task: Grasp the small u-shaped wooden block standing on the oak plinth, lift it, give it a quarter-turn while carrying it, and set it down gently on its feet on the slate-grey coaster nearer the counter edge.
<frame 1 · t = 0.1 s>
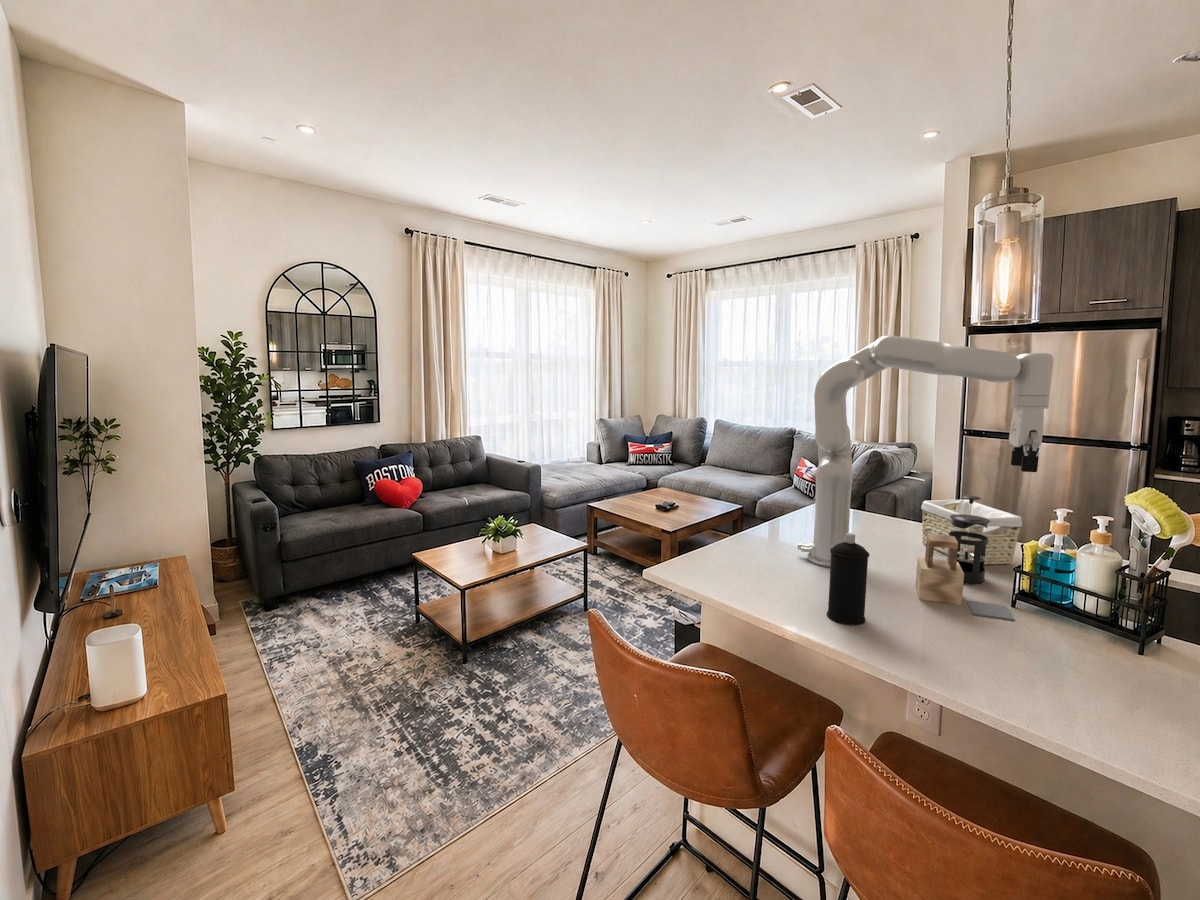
hand: (1023, 468, 143), 31 cm above the kitchen island, fingers open, 9 cm apart
storage basket: (964, 554, 172), on the kitchen island
u-shaped wooden block: (939, 565, 139), point 8 cm above the kitchen island, touching plinth
plinth: (937, 595, 140), on the kitchen island
coaster: (989, 610, 131), on the kitchen island
french press: (963, 578, 152), on the kitchen island
aerosol can: (845, 618, 128), on the kitchen island
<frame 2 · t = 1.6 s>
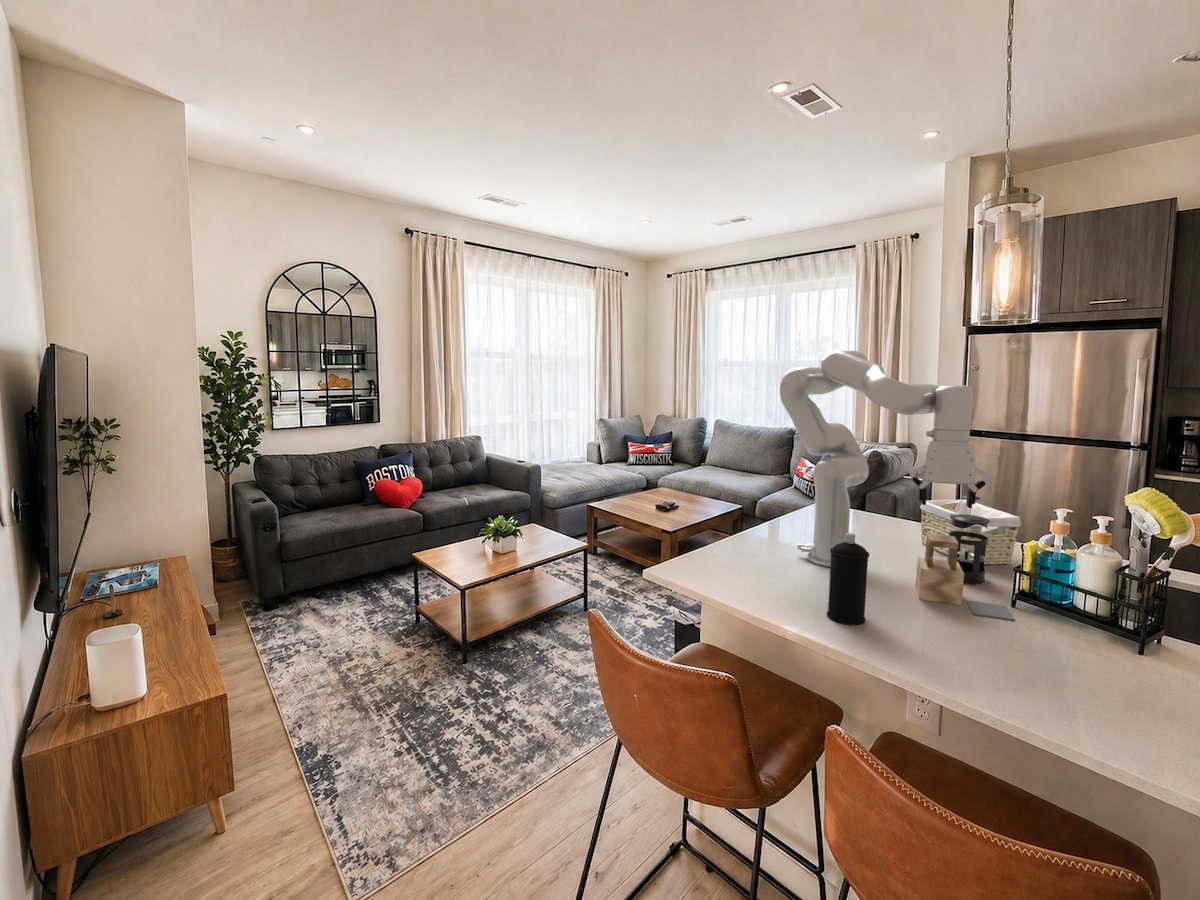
hand: (945, 505, 137), 23 cm above the kitchen island, fingers open, 9 cm apart
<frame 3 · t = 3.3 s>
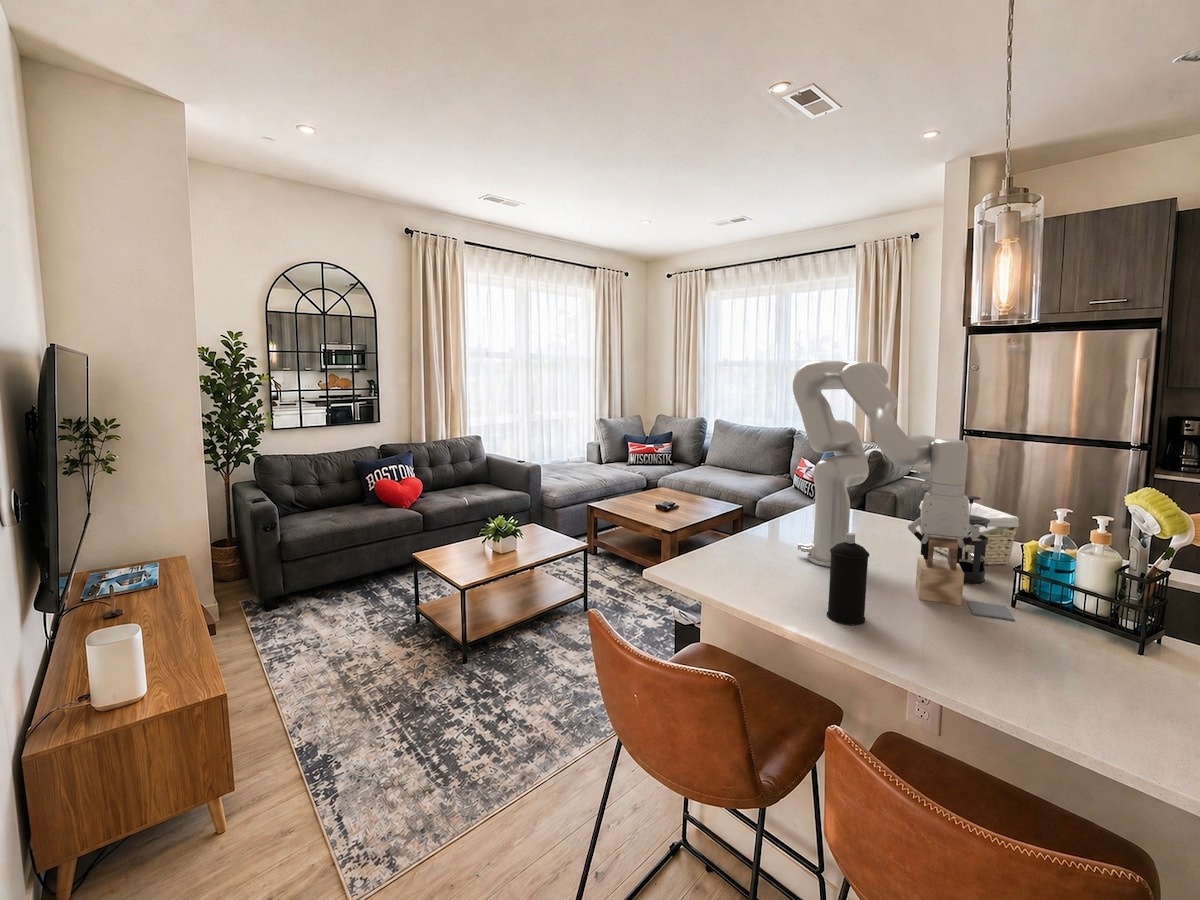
hand: (940, 559, 139), 10 cm above the kitchen island, fingers closed on u-shaped wooden block, 6 cm apart
u-shaped wooden block: (939, 565, 139), point 8 cm above the kitchen island, touching gripper, plinth
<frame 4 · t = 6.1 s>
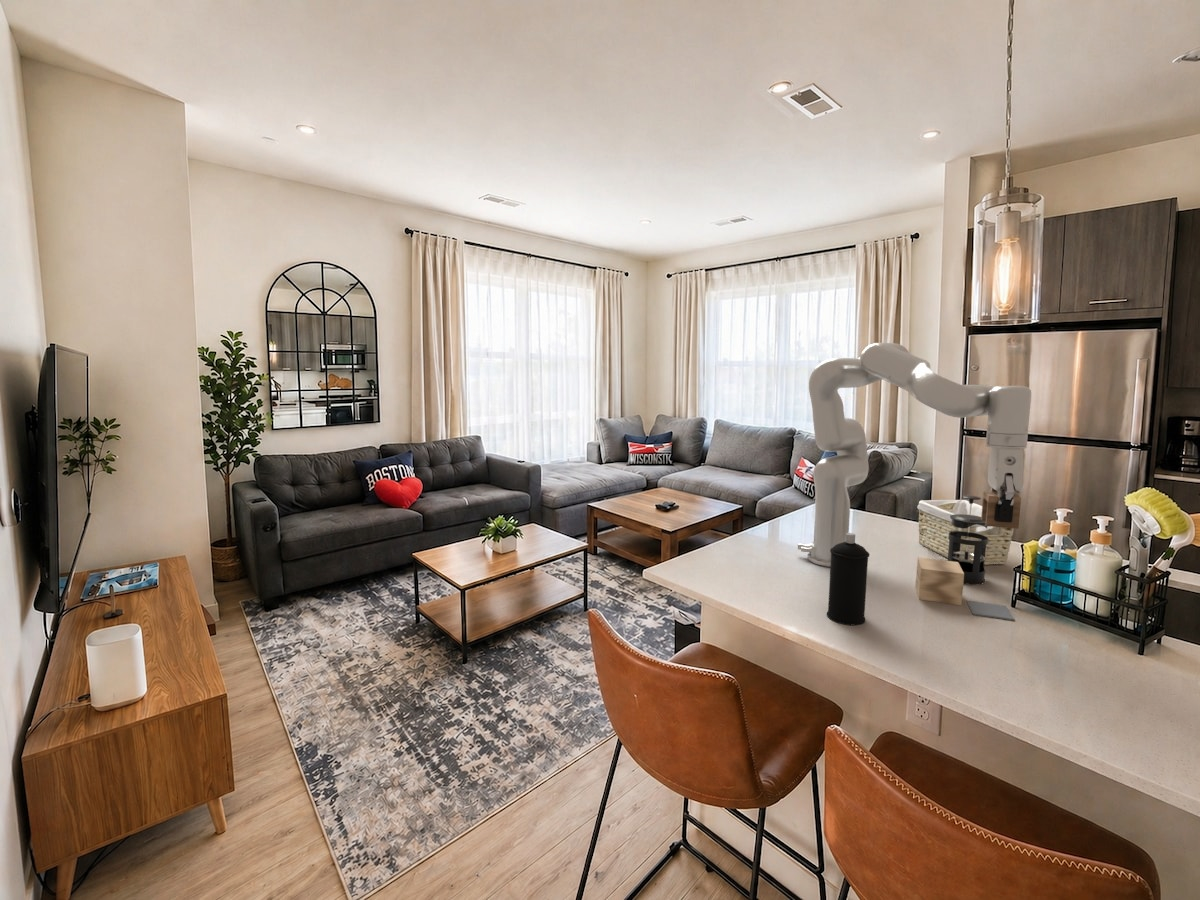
hand: (999, 517, 128), 23 cm above the kitchen island, fingers closed on u-shaped wooden block, 6 cm apart
u-shaped wooden block: (999, 524, 128), point 21 cm above the kitchen island, touching gripper
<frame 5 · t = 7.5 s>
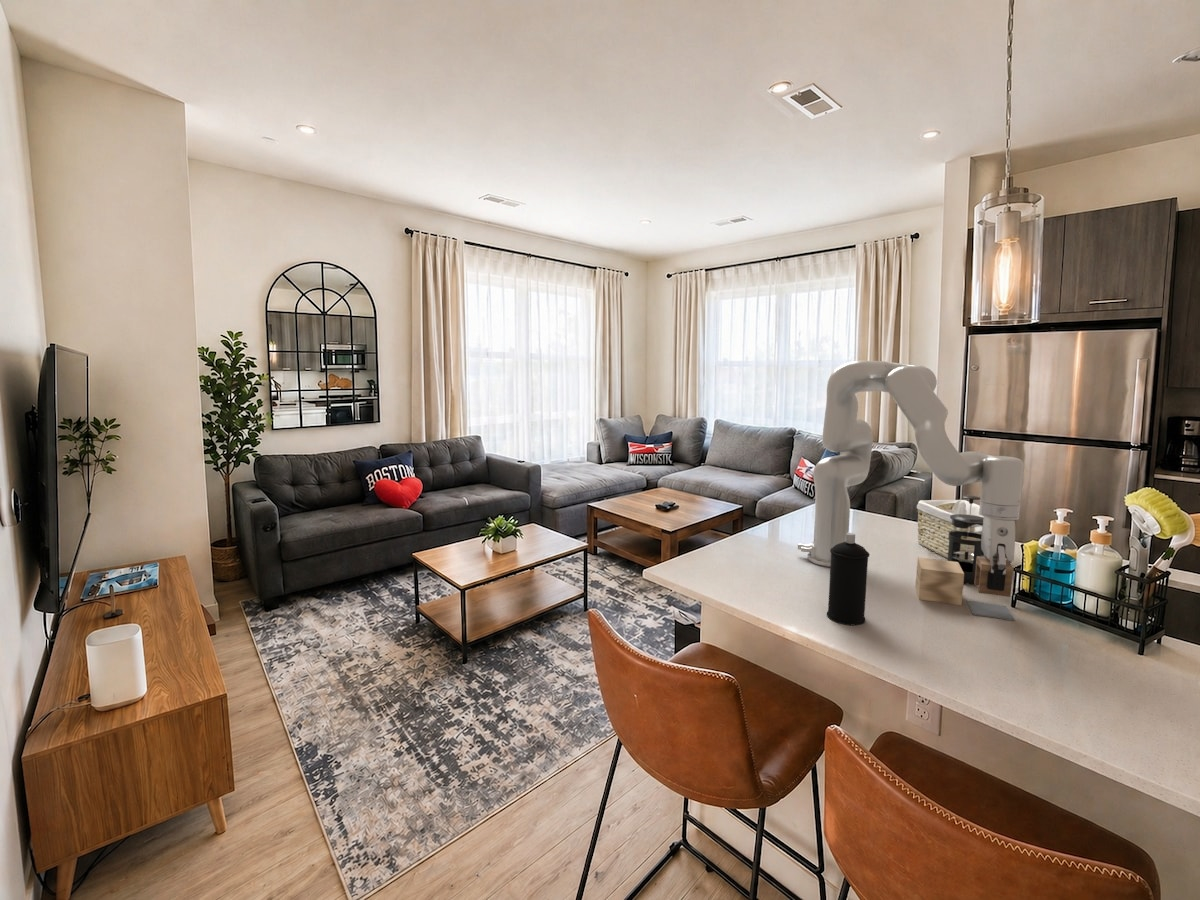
hand: (992, 583, 130), 7 cm above the kitchen island, fingers closed on u-shaped wooden block, 6 cm apart
u-shaped wooden block: (991, 590, 130), point 5 cm above the kitchen island, touching gripper
when the fingers open (3 cm above the kitchen island, at t = 8.8 s): u-shaped wooden block stays where it is, resting on coaster.
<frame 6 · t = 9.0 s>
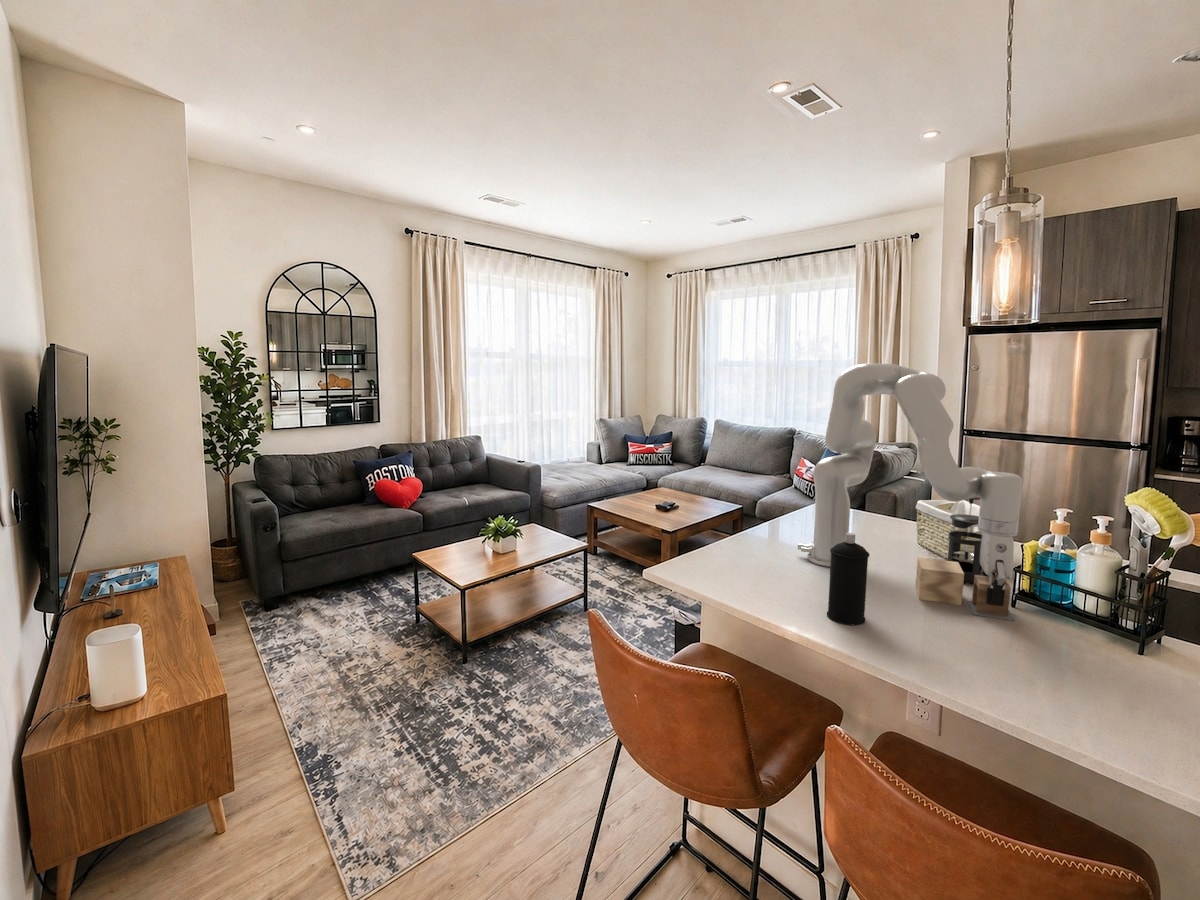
hand: (990, 597, 131), 3 cm above the kitchen island, fingers open, 7 cm apart
u-shaped wooden block: (989, 609, 131), resting on coaster
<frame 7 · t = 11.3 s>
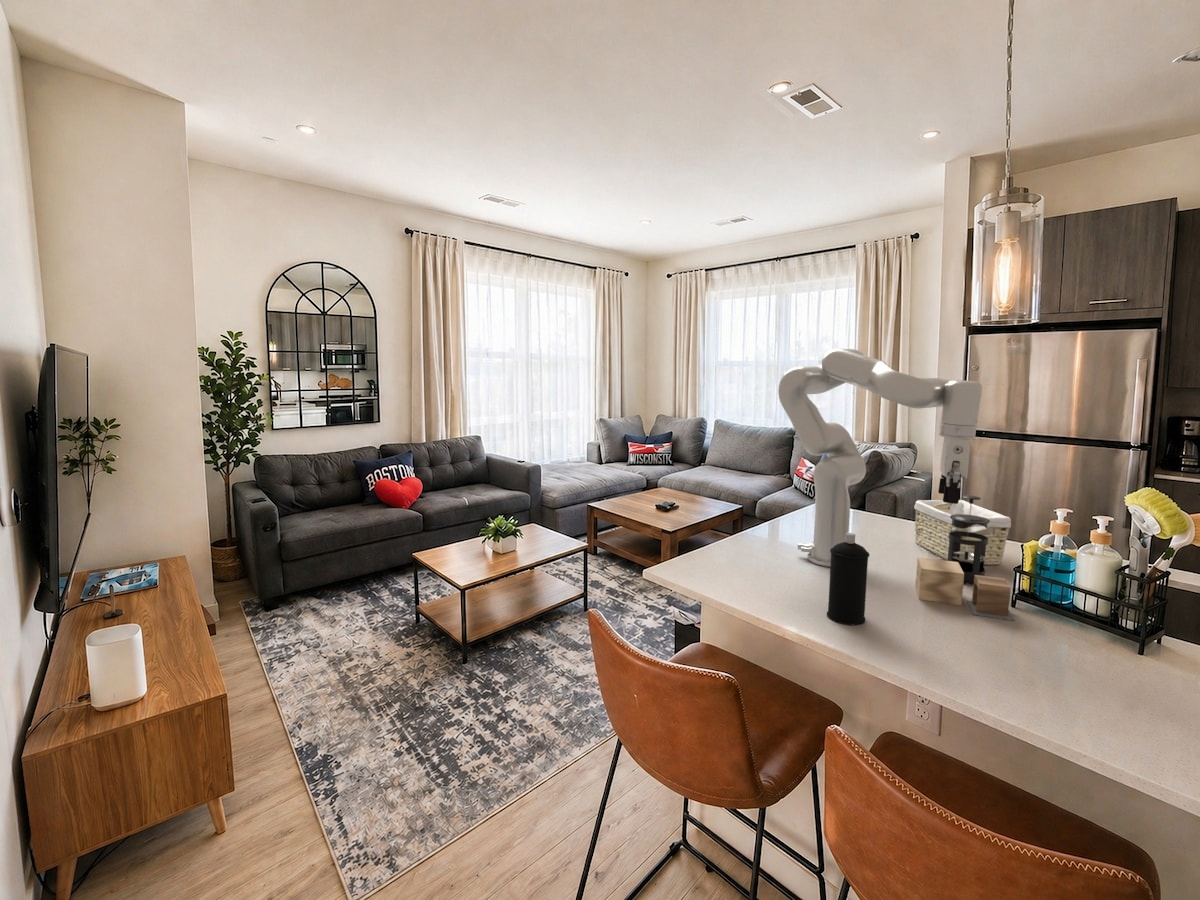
hand: (947, 498, 139), 25 cm above the kitchen island, fingers open, 9 cm apart
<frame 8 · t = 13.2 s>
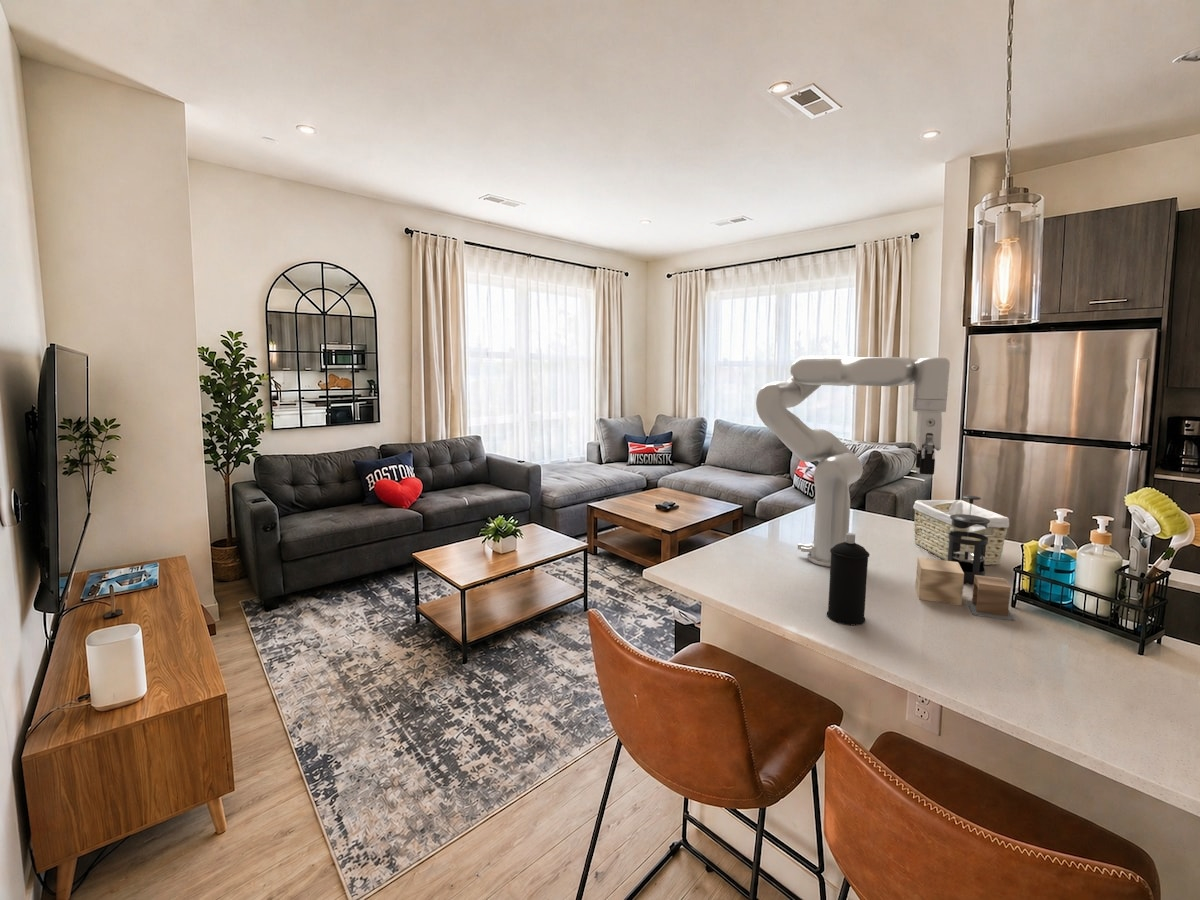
hand: (924, 470, 146), 30 cm above the kitchen island, fingers open, 9 cm apart
at the end: u-shaped wooden block inside the target area on the coaster (0.1 cm from its centre), point 0.4 cm above the coaster's base; u-shaped wooden block tilted 0°; the gripper is holding nothing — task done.
